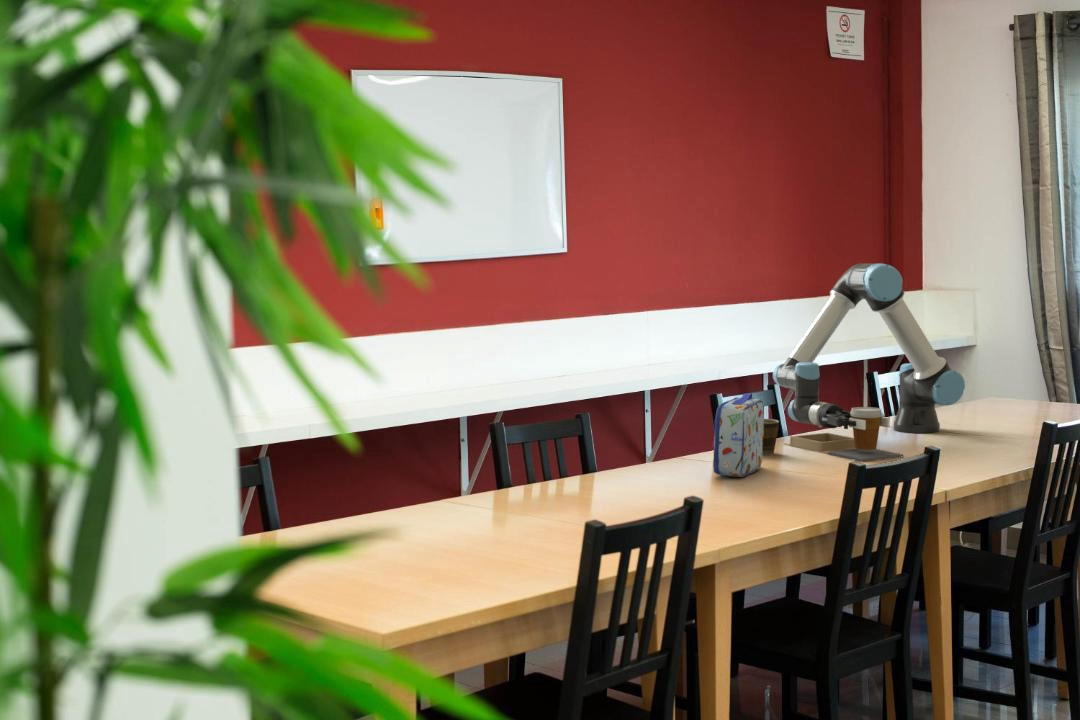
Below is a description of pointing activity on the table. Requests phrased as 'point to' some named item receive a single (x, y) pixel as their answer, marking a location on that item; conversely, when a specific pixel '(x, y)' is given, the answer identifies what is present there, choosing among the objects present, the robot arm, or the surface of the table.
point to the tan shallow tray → (822, 442)
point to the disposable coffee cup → (870, 435)
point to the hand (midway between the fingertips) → (876, 423)
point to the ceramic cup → (769, 436)
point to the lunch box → (738, 436)
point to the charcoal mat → (864, 454)
